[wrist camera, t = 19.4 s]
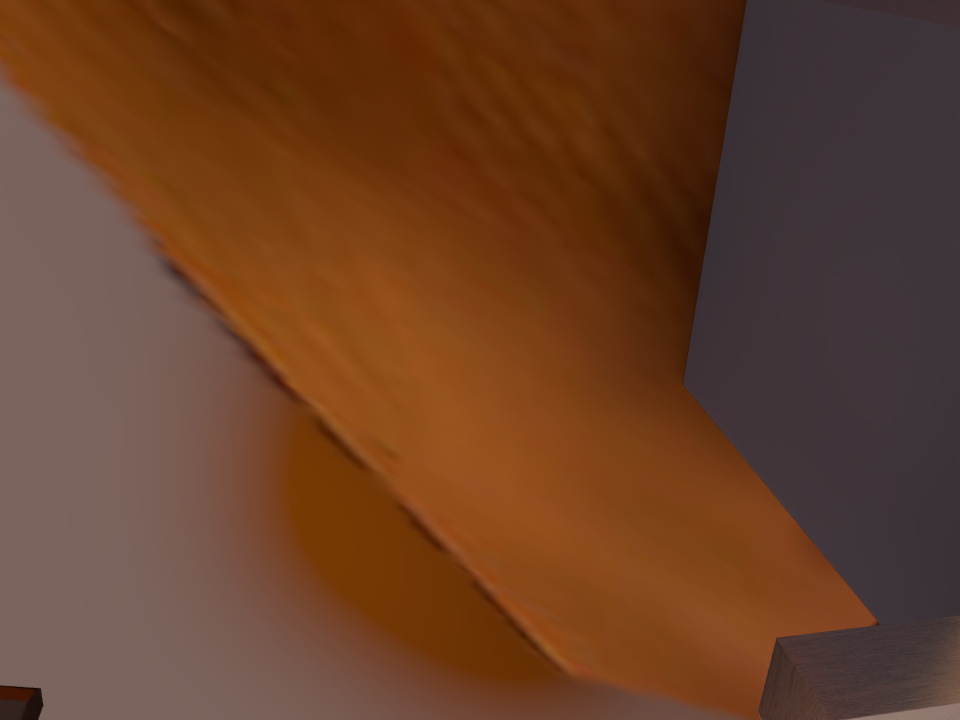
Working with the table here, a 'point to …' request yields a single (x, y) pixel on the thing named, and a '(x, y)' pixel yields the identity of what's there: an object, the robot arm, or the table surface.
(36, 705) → the robot arm
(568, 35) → the table surface
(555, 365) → the table surface
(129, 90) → the table surface
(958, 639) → the steel T-bar
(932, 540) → the wood-topped grey cube
